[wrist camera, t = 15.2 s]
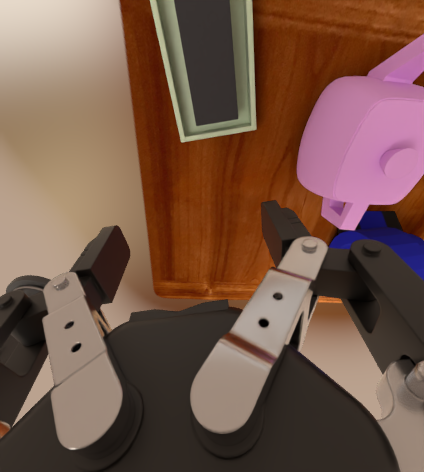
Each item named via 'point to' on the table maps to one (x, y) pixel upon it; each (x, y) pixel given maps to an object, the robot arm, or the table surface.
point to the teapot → (366, 138)
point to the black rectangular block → (208, 58)
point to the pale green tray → (179, 81)
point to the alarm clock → (385, 238)
